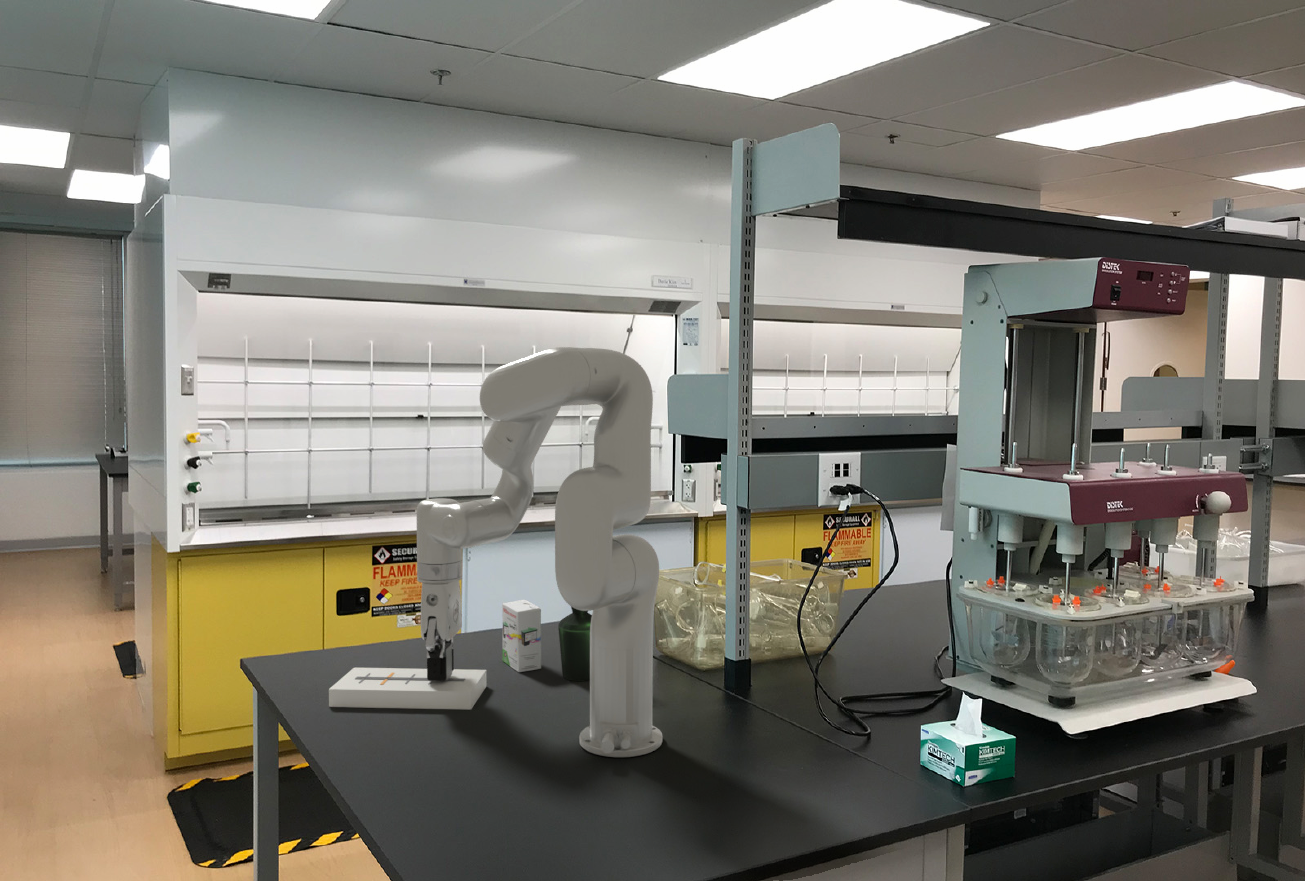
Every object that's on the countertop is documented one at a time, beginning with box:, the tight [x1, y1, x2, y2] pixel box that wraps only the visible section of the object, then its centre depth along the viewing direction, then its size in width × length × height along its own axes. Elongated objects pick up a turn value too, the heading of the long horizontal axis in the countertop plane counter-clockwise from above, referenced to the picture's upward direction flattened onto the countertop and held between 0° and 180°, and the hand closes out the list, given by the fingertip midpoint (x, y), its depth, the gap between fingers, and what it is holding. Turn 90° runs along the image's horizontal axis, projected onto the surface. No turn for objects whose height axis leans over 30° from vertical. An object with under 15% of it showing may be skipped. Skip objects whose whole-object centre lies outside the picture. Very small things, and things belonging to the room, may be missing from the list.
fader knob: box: [429, 643, 453, 681], centre depth 164 cm, size 4×3×6 cm
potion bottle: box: [557, 606, 592, 682], centre depth 176 cm, size 8×8×18 cm
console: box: [328, 667, 487, 710], centre depth 165 cm, size 12×24×3 cm, turn 88°
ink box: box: [501, 599, 542, 673], centre depth 183 cm, size 8×5×12 cm, turn 30°
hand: (440, 674), depth 165 cm, fingers closed on fader knob, 4 cm apart
